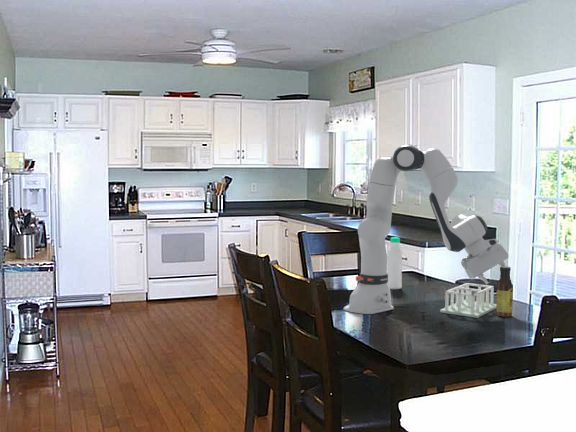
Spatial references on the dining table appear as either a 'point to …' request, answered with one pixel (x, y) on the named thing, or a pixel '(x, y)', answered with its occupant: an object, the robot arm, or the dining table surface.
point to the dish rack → (469, 301)
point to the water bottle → (394, 264)
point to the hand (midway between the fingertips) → (496, 278)
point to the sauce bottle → (504, 293)
